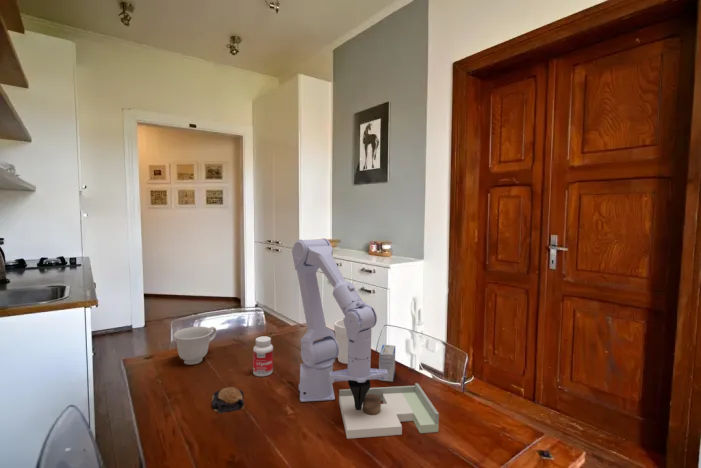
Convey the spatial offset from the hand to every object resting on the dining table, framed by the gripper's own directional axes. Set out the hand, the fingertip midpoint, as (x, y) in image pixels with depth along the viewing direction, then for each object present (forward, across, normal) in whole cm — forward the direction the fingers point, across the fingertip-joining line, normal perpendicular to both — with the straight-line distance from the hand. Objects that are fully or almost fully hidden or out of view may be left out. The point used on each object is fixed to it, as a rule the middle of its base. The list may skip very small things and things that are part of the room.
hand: (357, 407), depth 89 cm
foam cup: (+3, +2, +35) cm, 35 cm away
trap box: (+3, +7, 0) cm, 8 cm away
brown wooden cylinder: (+1, +4, 0) cm, 4 cm away
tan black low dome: (+4, -34, +12) cm, 36 cm away
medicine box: (+3, +13, +22) cm, 26 cm away
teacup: (+3, -49, +40) cm, 63 cm away
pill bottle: (+3, -26, +28) cm, 38 cm away
